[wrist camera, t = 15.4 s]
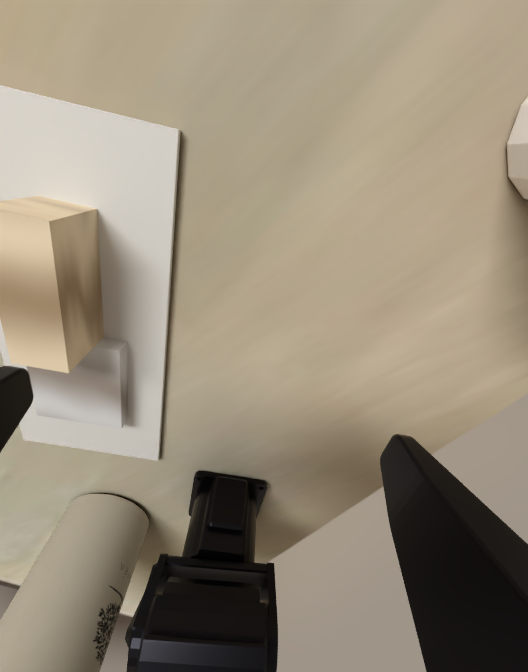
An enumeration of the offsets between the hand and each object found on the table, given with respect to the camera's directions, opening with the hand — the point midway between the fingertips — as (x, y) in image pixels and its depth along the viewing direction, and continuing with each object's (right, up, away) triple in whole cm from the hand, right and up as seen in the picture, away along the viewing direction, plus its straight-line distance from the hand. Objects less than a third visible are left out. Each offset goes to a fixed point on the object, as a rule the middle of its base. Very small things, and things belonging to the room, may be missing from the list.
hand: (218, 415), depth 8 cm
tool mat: (-11, +3, +13) cm, 17 cm away
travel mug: (-14, -16, +23) cm, 32 cm away
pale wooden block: (-11, +3, +12) cm, 16 cm away
